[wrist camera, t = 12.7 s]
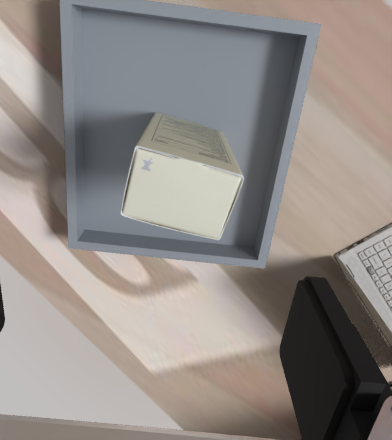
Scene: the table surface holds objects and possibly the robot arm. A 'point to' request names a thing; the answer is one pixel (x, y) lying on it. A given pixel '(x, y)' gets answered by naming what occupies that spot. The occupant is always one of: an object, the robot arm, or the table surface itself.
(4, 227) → the table surface
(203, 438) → the robot arm
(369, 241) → the laptop
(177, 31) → the tray
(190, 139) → the skincare box
